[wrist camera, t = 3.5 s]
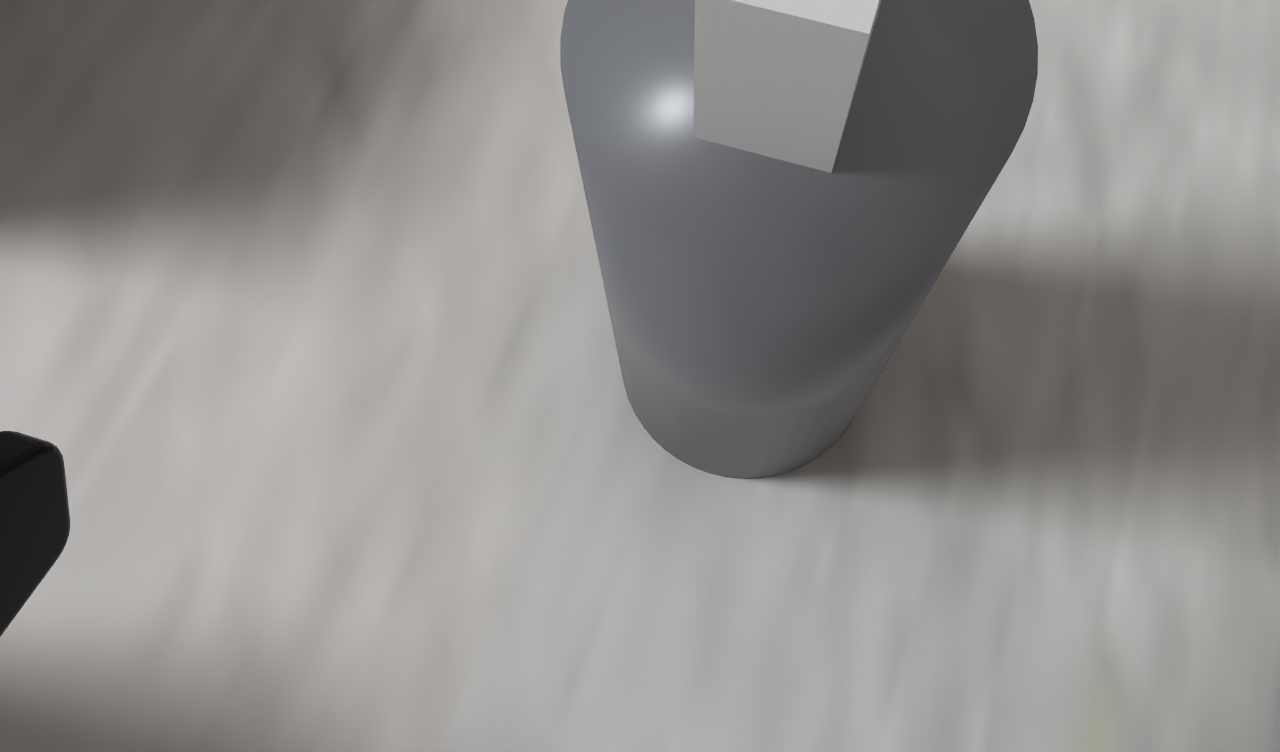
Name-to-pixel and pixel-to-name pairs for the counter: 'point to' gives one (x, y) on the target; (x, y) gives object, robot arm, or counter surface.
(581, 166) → the gray bottle
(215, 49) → the counter surface
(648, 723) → the counter surface
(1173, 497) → the counter surface
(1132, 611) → the counter surface
